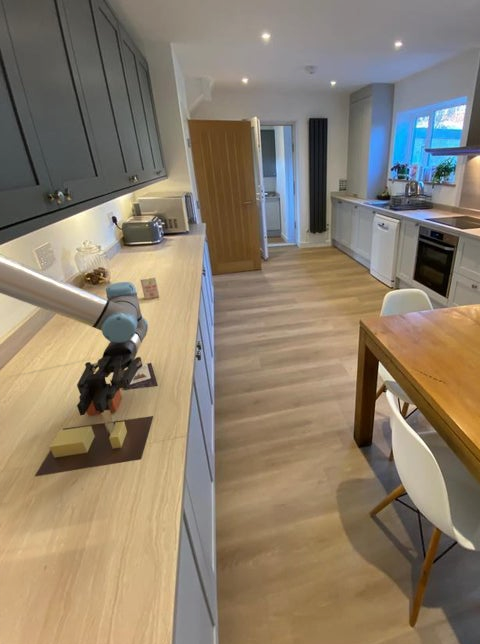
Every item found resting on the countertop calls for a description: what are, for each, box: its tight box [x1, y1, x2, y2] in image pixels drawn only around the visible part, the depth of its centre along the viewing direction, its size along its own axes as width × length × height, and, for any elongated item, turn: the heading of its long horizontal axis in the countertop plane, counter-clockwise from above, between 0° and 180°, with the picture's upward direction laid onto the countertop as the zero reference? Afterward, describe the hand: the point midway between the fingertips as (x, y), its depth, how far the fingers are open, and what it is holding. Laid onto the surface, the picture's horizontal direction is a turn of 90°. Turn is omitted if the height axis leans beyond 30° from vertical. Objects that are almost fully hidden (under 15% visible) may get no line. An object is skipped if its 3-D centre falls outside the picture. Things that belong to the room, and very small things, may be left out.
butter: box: [49, 426, 95, 458], centre depth 77 cm, size 7×5×4 cm
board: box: [34, 415, 154, 478], centre depth 79 cm, size 22×14×2 cm, turn 102°
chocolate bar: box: [123, 362, 159, 391], centre depth 101 cm, size 9×1×18 cm
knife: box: [86, 373, 114, 437], centre depth 75 cm, size 3×3×19 cm
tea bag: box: [140, 277, 160, 301], centre depth 163 cm, size 4×7×10 cm, turn 116°
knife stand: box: [86, 389, 123, 417], centre depth 90 cm, size 7×6×6 cm
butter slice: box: [109, 421, 127, 449], centre depth 79 cm, size 2×5×4 cm, turn 12°
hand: (90, 408), depth 68 cm, fingers closed on knife, 3 cm apart
